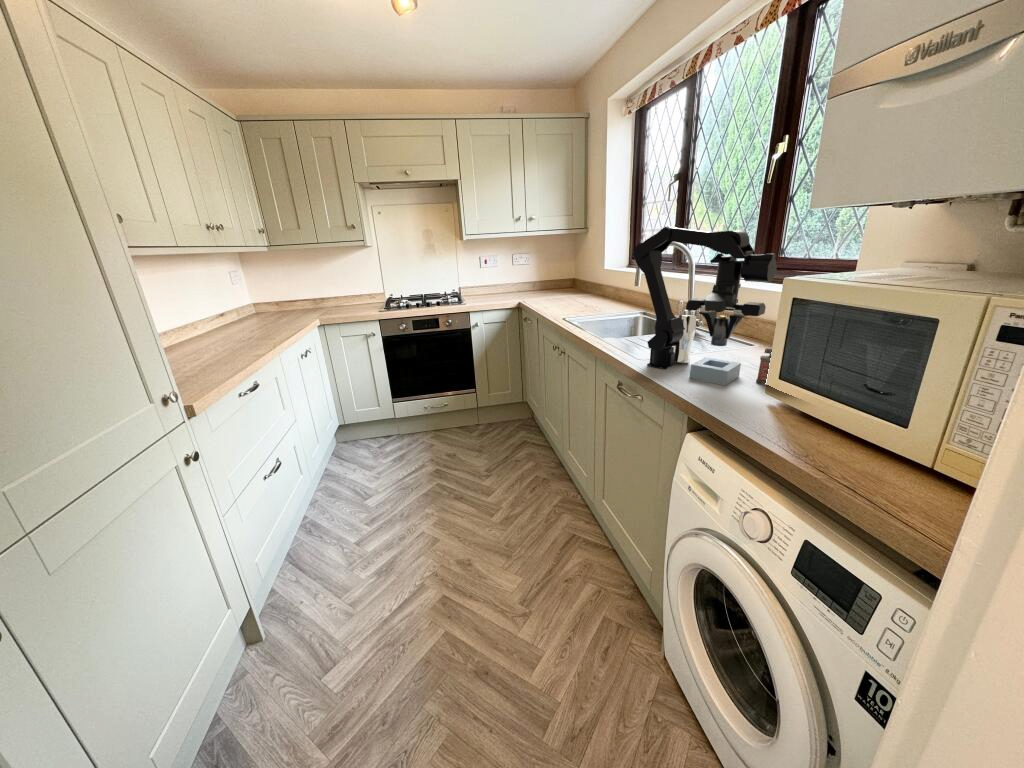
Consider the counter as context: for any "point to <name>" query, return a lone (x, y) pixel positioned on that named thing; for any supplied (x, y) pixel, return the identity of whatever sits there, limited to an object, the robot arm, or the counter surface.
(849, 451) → the counter surface
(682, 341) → the shiny silver cylinder
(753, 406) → the counter surface
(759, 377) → the red decorated tea tin
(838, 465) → the counter surface
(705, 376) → the box
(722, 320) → the cell
